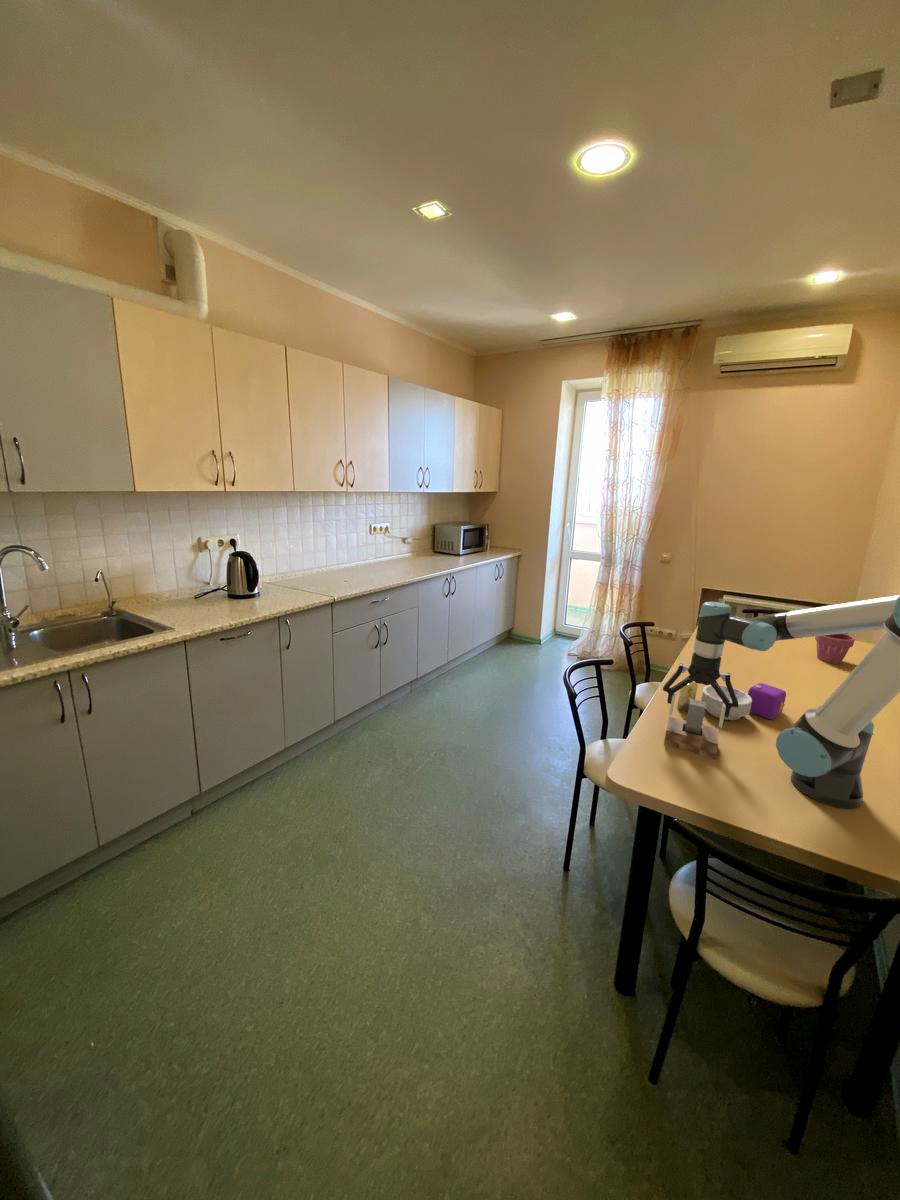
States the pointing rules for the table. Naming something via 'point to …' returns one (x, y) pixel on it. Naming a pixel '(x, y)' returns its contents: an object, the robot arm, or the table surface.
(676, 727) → the bore block
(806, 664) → the table surface
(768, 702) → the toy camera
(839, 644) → the plant pot
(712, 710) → the paper bowls
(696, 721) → the square bit
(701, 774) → the table surface
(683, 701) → the cylinder
